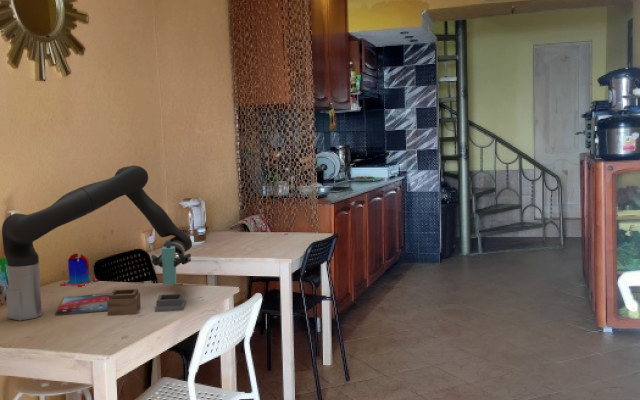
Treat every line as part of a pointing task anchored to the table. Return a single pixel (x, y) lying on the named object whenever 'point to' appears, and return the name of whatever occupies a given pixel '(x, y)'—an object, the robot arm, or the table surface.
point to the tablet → (83, 304)
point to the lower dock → (170, 302)
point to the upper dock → (123, 302)
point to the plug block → (168, 264)
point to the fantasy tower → (78, 271)
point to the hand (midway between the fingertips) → (168, 264)
